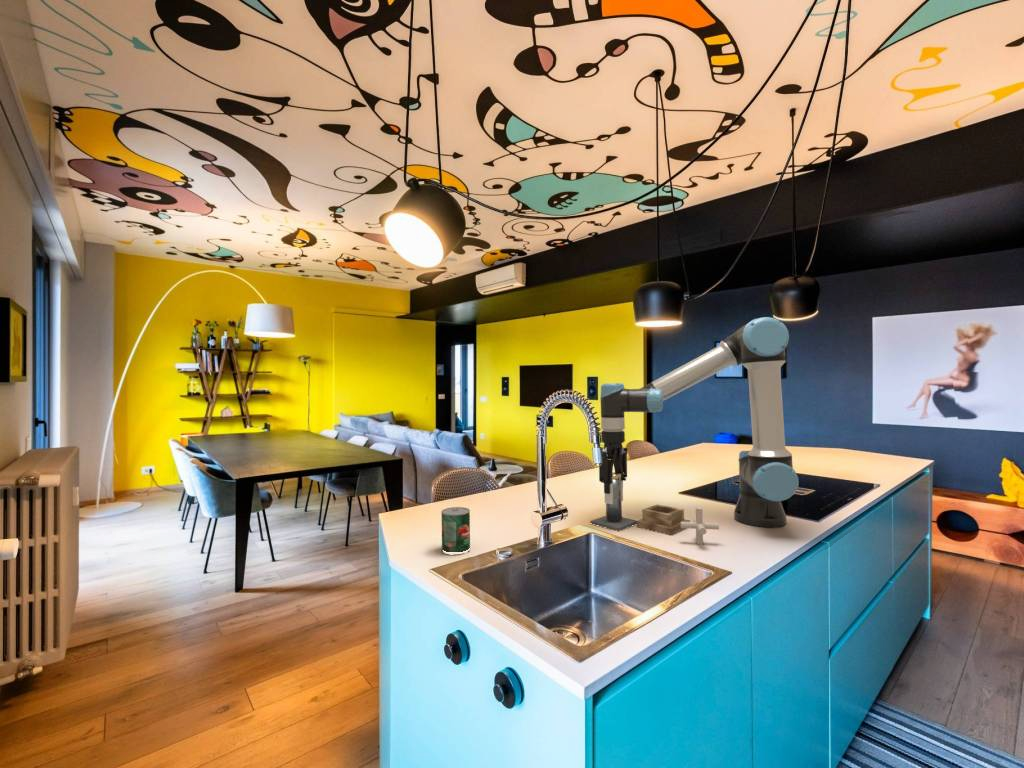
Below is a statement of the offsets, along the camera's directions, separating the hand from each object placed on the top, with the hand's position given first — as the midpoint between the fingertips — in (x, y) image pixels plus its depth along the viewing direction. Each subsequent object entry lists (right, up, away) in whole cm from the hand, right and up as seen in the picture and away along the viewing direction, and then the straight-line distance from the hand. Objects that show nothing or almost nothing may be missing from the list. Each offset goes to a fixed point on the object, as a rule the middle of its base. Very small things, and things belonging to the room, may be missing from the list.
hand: (613, 501), depth 151 cm
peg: (0, -5, 0) cm, 5 cm away
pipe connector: (+20, -7, -20) cm, 29 cm away
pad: (0, -7, 0) cm, 7 cm away
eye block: (+15, -7, -4) cm, 17 cm away
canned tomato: (-49, -8, -23) cm, 54 cm away
